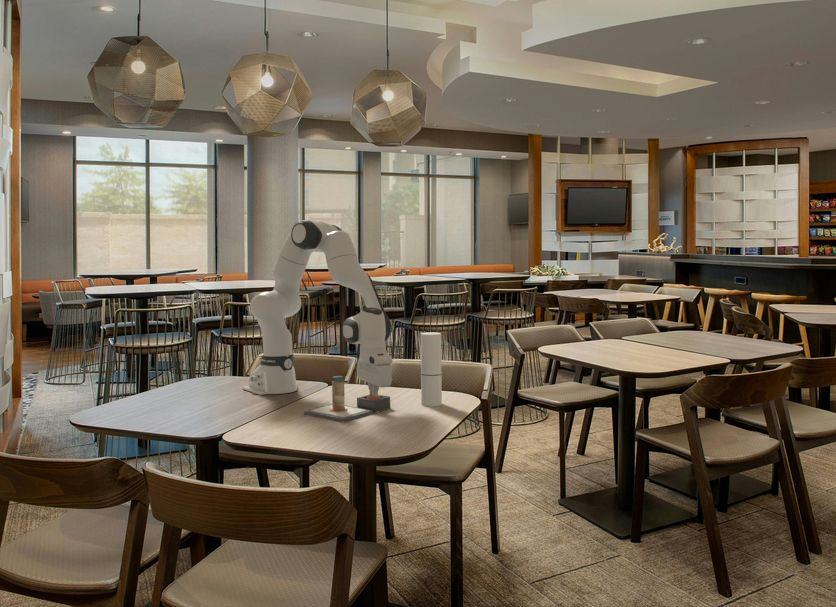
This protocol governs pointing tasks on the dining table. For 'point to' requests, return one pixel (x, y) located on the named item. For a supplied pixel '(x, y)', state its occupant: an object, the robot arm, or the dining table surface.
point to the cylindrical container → (431, 369)
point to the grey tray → (338, 413)
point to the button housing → (374, 403)
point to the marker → (338, 393)
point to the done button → (373, 397)
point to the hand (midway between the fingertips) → (373, 395)
